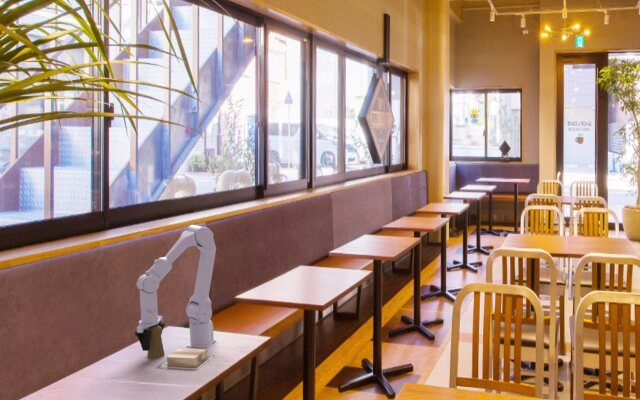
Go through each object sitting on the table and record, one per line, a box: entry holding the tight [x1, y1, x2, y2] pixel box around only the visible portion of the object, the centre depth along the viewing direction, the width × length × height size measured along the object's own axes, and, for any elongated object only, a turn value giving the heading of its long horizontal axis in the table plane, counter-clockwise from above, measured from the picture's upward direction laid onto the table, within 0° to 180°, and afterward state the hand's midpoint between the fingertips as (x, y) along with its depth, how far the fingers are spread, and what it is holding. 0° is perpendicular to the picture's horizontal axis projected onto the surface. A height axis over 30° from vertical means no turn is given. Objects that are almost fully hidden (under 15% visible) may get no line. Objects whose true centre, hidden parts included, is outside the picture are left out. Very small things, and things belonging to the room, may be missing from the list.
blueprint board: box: [155, 354, 215, 372], centre depth 228 cm, size 16×15×1 cm
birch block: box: [166, 347, 208, 367], centre depth 227 cm, size 10×10×3 cm
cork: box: [147, 325, 165, 359], centre depth 234 cm, size 6×6×11 cm
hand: (151, 347), depth 235 cm, fingers open, 7 cm apart
